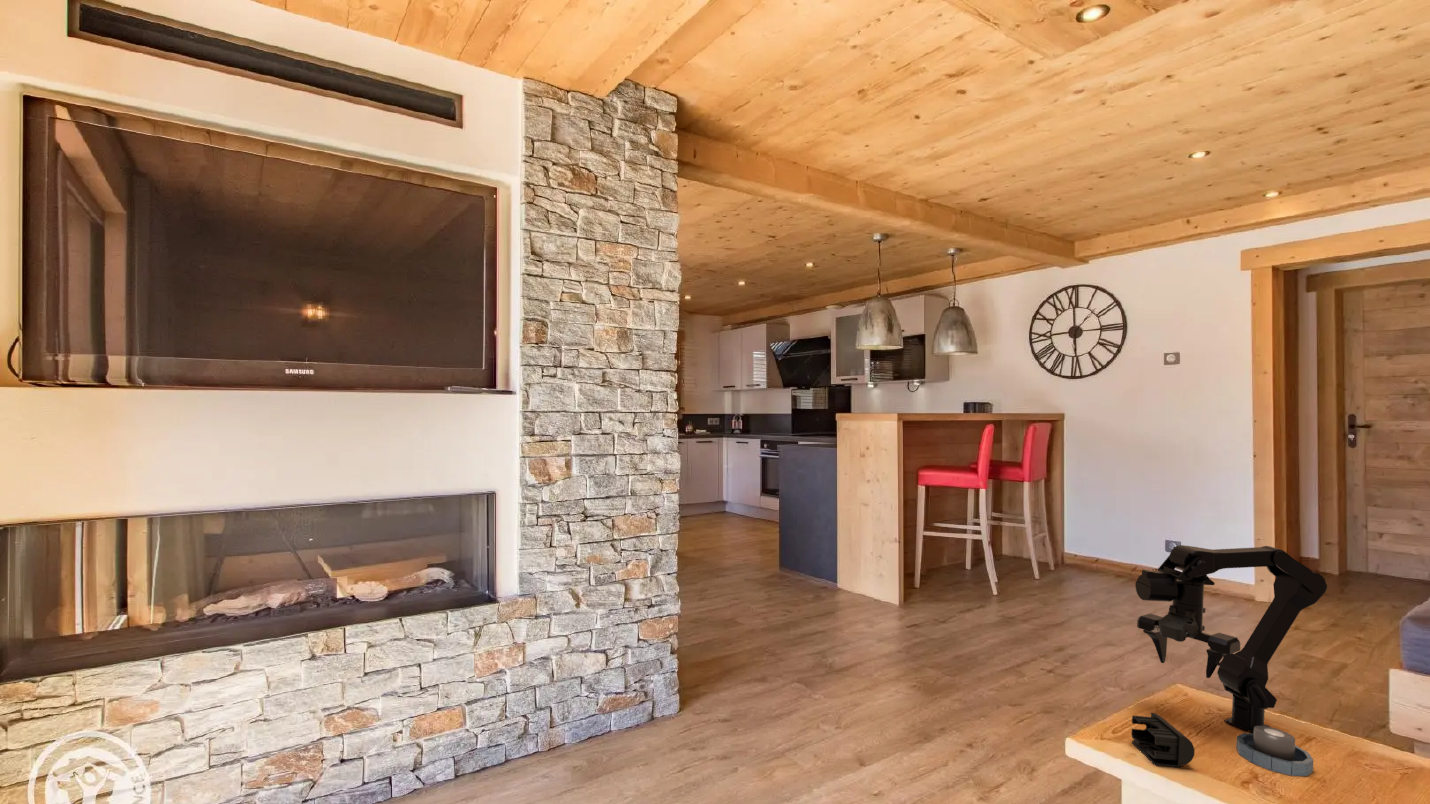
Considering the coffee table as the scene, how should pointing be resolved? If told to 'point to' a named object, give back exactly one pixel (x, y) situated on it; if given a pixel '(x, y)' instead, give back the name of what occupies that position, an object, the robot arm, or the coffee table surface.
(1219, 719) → the coffee table surface
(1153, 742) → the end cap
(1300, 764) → the blue-grey round tray
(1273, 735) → the dark brown cylinder
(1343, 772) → the coffee table surface
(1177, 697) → the coffee table surface
